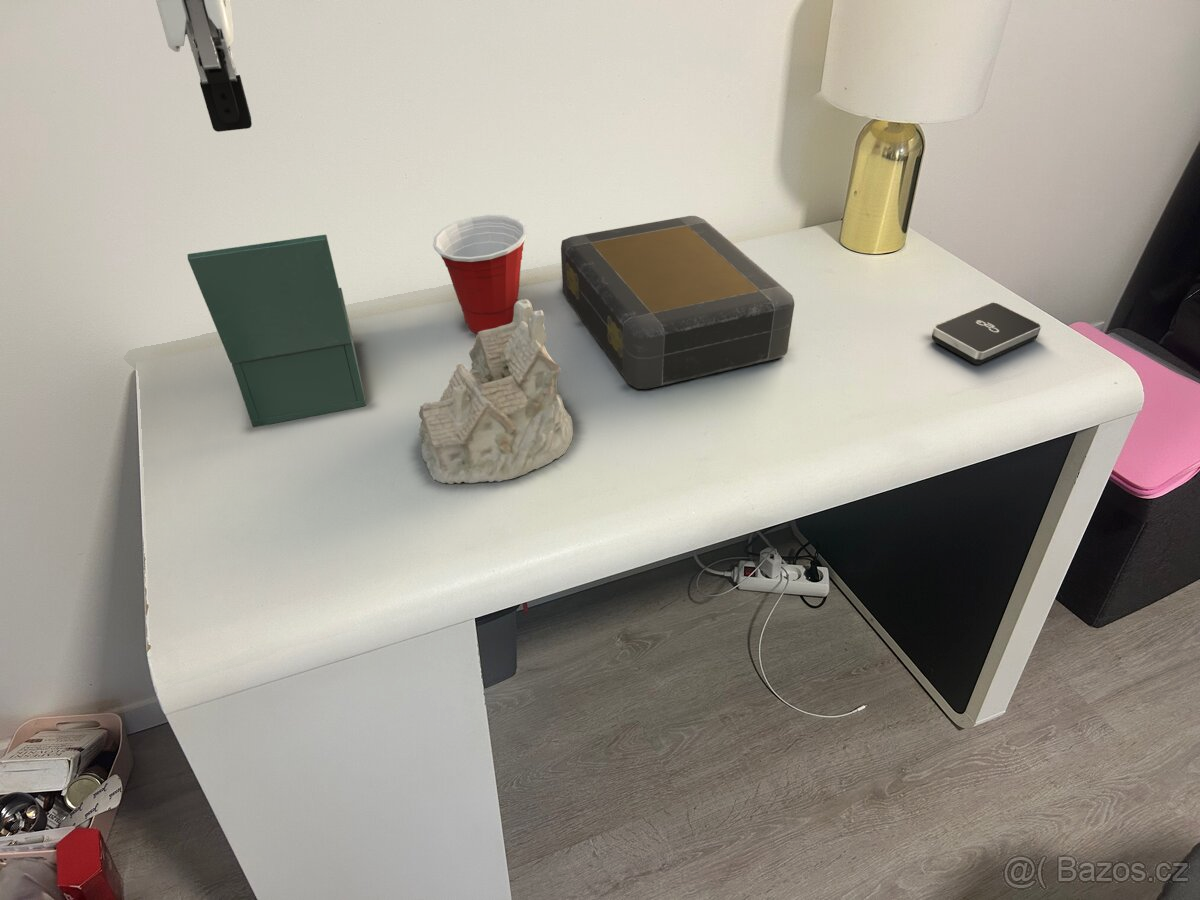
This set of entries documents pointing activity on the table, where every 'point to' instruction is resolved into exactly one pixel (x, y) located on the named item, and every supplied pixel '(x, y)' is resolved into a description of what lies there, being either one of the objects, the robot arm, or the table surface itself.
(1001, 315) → the external hard drive
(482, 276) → the plastic cup
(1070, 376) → the table surface
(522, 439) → the ceramic cottage
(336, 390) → the tin
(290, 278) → the lid
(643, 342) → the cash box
